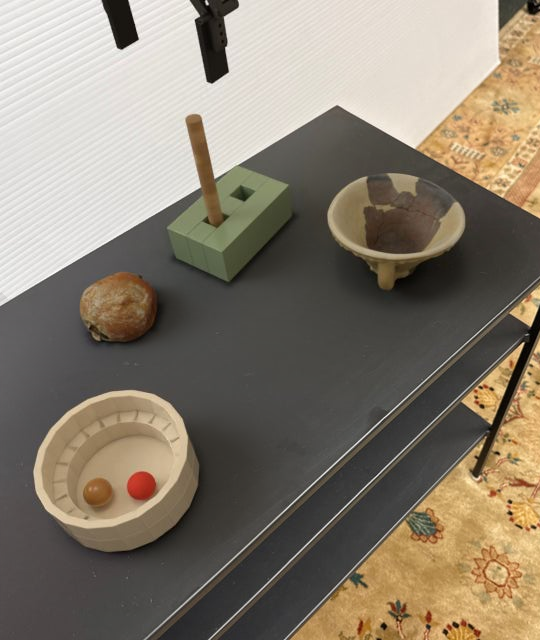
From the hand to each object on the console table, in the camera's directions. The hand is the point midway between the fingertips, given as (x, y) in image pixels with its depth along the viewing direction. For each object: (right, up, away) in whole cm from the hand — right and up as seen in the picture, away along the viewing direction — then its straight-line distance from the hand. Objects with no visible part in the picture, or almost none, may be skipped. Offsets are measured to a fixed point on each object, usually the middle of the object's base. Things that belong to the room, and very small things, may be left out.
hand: (171, 60), depth 70 cm
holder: (+4, -16, +26) cm, 31 cm away
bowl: (+27, -20, +22) cm, 40 cm away
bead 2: (-3, -46, -1) cm, 46 cm away
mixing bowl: (-5, -46, +1) cm, 47 cm away
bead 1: (-7, -47, -1) cm, 47 cm away
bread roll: (-11, -28, +18) cm, 35 cm away
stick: (+2, -18, +25) cm, 31 cm away
